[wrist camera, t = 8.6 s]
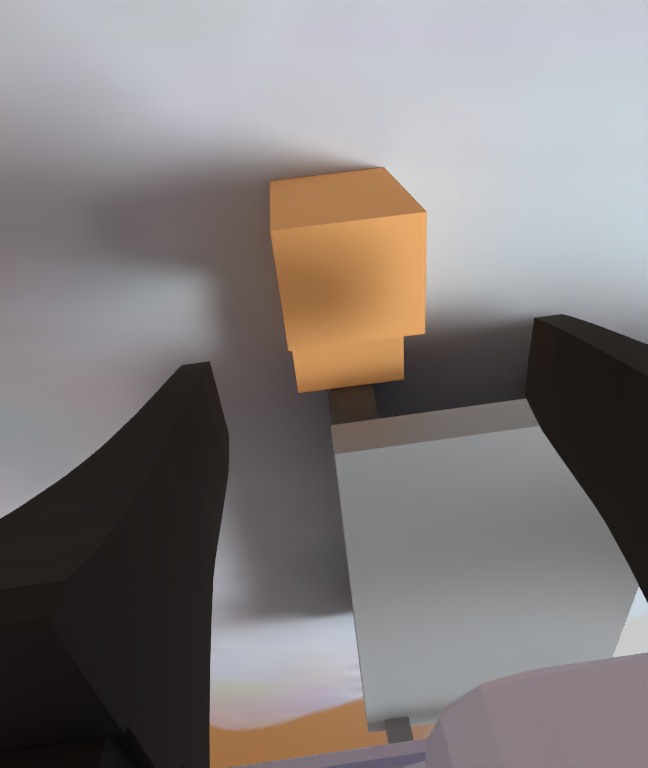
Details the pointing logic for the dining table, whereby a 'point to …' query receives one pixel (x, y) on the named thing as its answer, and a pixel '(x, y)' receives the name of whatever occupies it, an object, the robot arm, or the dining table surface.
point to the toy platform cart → (466, 554)
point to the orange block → (348, 275)
